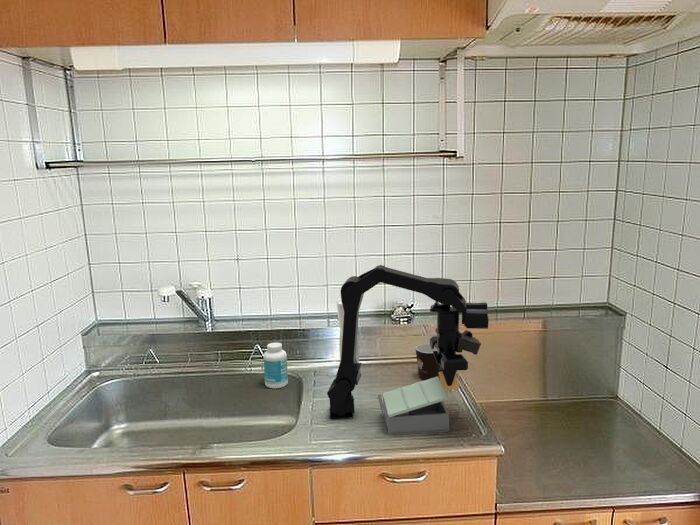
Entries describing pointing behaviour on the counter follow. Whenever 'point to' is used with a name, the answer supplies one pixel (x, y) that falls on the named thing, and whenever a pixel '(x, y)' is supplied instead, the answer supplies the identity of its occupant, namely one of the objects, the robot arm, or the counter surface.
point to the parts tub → (417, 419)
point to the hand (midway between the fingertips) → (447, 382)
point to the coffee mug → (426, 362)
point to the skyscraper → (341, 321)
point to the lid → (418, 395)
